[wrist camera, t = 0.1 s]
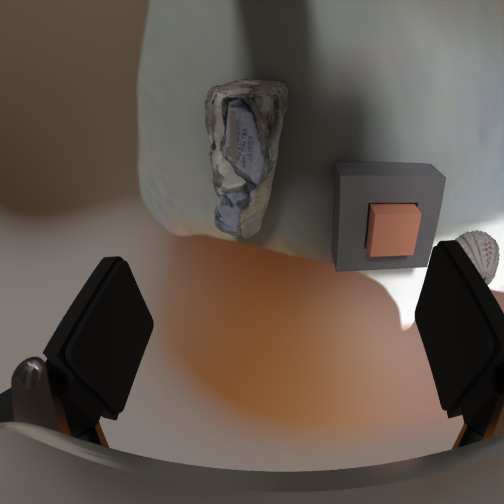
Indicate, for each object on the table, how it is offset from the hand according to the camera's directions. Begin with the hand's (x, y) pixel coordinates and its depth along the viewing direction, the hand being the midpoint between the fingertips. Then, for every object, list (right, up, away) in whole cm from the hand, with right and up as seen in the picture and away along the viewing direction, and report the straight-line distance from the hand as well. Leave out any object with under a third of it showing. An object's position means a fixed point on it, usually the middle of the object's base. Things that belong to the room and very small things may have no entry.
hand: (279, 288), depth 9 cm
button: (+20, +5, +33) cm, 39 cm away
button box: (+20, +8, +38) cm, 43 cm away
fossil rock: (-2, +16, +34) cm, 38 cm away
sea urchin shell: (+41, +1, +41) cm, 58 cm away
